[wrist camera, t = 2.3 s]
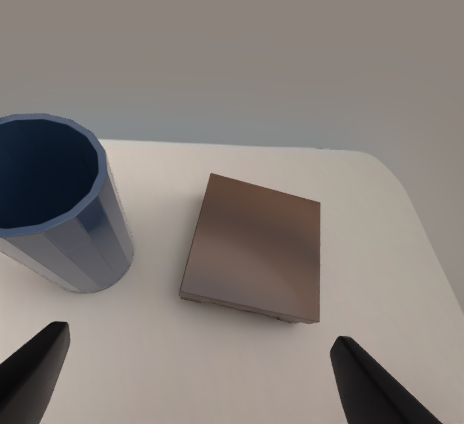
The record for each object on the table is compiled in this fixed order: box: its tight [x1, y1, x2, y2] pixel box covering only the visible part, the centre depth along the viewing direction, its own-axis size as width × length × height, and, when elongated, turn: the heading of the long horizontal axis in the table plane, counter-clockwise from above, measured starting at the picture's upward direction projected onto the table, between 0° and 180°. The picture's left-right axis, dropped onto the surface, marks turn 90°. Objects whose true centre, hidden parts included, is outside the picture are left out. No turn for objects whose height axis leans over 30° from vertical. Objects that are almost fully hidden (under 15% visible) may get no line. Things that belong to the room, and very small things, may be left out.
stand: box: [179, 173, 320, 324], centre depth 24 cm, size 11×11×4 cm
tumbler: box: [0, 114, 134, 293], centre depth 18 cm, size 7×7×12 cm
